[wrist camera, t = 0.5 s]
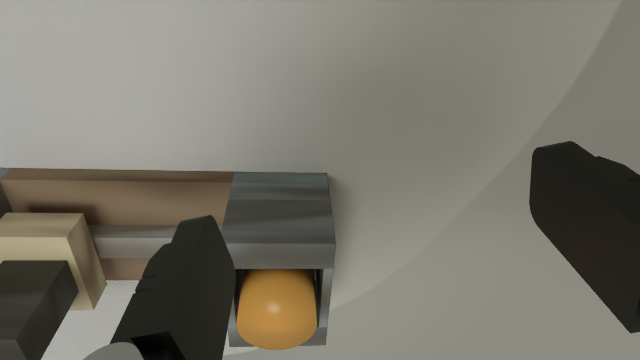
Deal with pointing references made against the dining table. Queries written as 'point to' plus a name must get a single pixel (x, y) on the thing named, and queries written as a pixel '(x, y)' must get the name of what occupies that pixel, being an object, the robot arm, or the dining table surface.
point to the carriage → (43, 278)
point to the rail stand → (186, 203)
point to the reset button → (277, 307)
